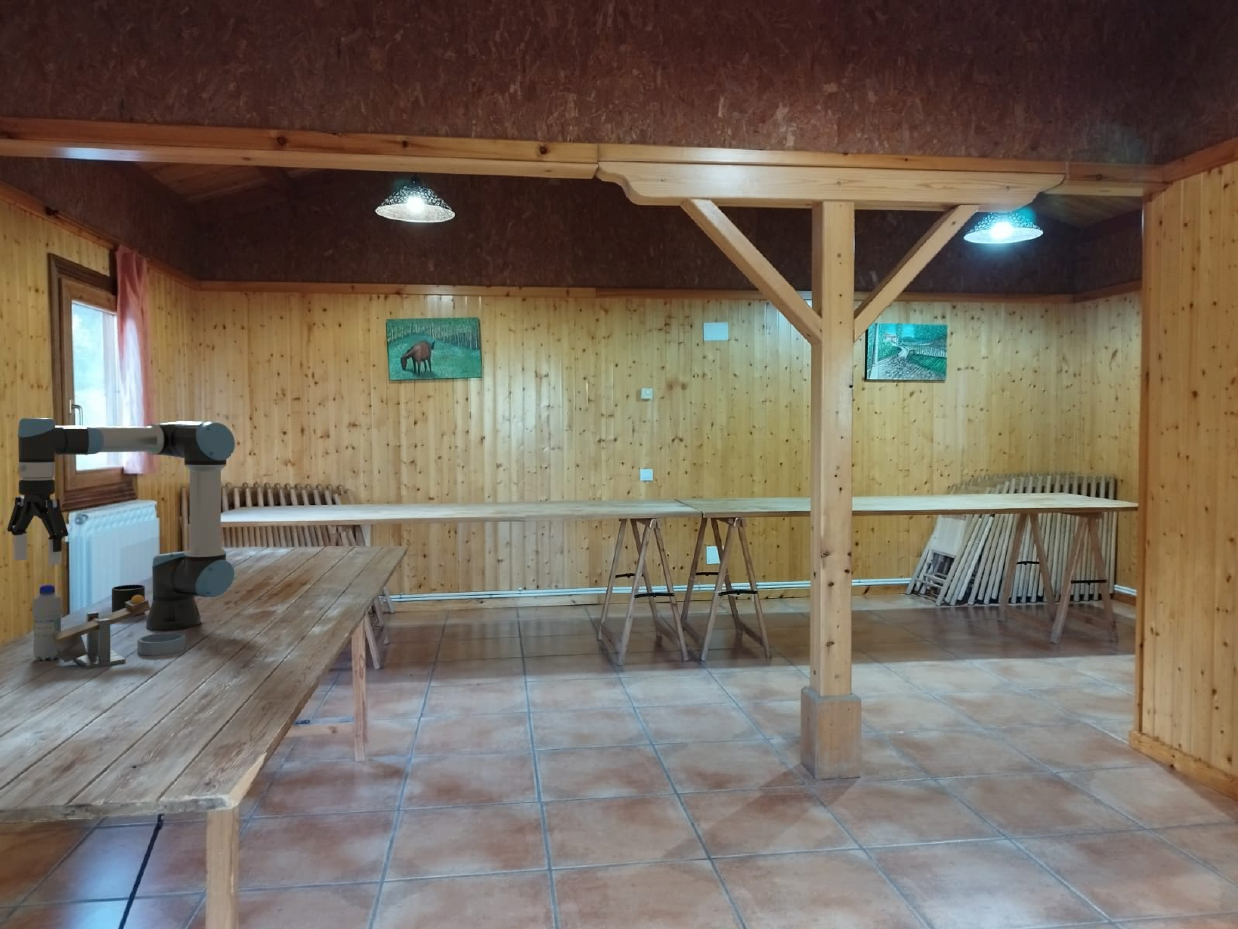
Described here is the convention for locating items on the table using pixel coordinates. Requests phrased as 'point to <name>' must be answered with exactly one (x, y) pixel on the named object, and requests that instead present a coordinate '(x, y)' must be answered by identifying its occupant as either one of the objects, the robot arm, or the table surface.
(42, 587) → the bottle
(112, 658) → the fulcrum
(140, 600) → the ball
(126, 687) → the table surface
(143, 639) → the bowl
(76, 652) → the lever
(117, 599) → the mug
